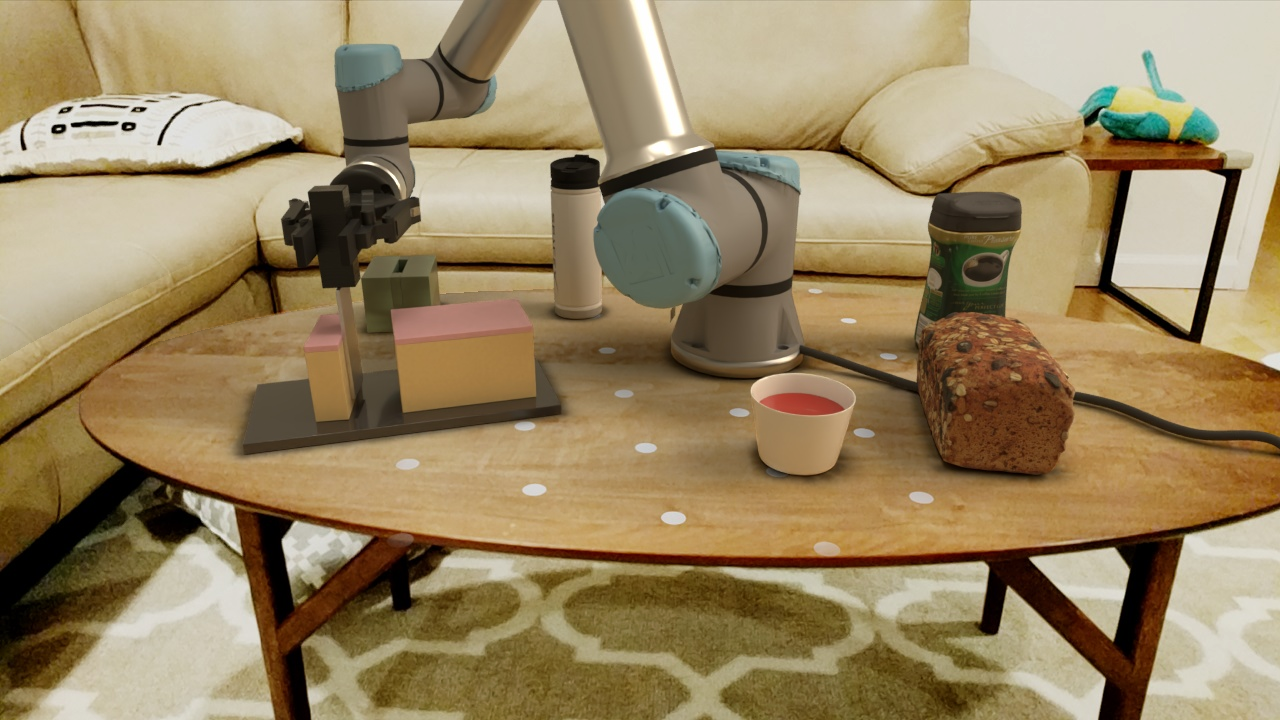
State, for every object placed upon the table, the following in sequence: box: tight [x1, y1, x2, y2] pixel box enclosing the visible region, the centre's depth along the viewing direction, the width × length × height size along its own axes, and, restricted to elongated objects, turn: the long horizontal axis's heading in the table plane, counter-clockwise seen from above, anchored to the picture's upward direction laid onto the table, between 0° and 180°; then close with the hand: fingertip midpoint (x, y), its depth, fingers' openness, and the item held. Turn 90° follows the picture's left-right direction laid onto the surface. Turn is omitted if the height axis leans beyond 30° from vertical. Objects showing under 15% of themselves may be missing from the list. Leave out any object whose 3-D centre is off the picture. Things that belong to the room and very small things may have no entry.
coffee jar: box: [913, 191, 1023, 346], centre depth 99 cm, size 10×8×19 cm
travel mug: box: [549, 153, 603, 320], centre depth 111 cm, size 6×7×20 cm
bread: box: [915, 312, 1076, 476], centre depth 81 cm, size 19×11×10 cm, turn 170°
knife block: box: [360, 254, 441, 334], centre depth 110 cm, size 8×10×7 cm
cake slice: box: [303, 313, 356, 422], centre depth 84 cm, size 3×9×8 cm, turn 9°
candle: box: [749, 372, 857, 476], centre depth 76 cm, size 9×9×6 cm
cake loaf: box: [391, 297, 536, 413], centre depth 87 cm, size 13×9×8 cm
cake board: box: [242, 354, 562, 455], centre depth 87 cm, size 29×14×1 cm, turn 107°
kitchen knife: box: [307, 184, 363, 399], centre depth 82 cm, size 3×4×20 cm
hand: (322, 251), depth 75 cm, fingers closed on kitchen knife, 3 cm apart
